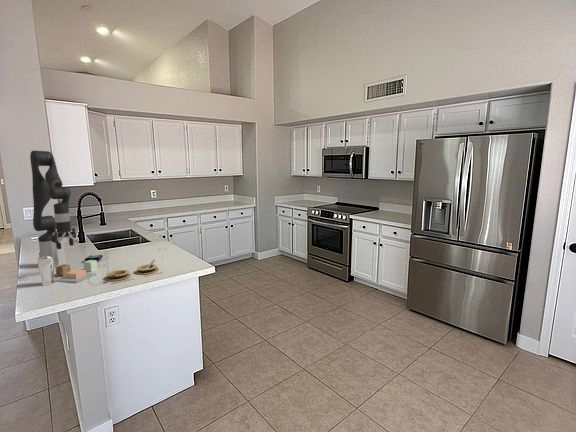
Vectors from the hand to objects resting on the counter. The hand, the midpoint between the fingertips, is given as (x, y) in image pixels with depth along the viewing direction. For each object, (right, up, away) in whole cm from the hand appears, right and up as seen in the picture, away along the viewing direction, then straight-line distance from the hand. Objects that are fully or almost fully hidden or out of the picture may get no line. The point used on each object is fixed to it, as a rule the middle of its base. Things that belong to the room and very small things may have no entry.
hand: (65, 247), depth 186 cm
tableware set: (+40, -18, +3) cm, 43 cm away
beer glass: (0, -19, -13) cm, 23 cm away
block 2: (+9, -16, +10) cm, 21 cm away
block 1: (-2, -17, +1) cm, 17 cm away
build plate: (+9, -18, -4) cm, 20 cm away
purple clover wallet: (-1, -14, +28) cm, 31 cm away
